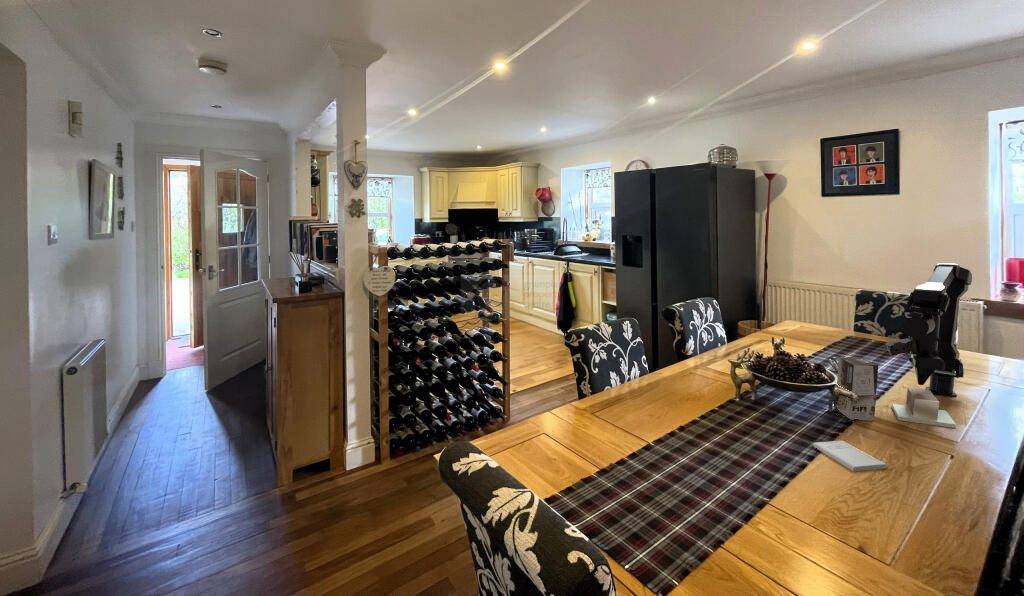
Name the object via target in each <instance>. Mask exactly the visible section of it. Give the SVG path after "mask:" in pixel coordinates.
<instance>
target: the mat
mask: <svg viewBox="0 0 1024 596" xmlns="http://www.w3.org/2000/svg"><path fill="white" fill-rule="evenodd" d="M891 408H892V410H893V412H894V415H895V417H896V418H897V420H898V421H903V422H904V421H905V422H909V423H910V422H912V423H918V424H923V425H932V426H940V427H945V428H954V429H957V424H956V422H955V420H953V418H952V417H951V416H950V414H949V413H948V411H947V410H944V409H939V410H938V420H936V419H928V418H921V417H914V416H913V414H912V413H911V411H910V409H909V408H908V406H907V404H906V405H905V404H896V403H892V404H891Z"/></svg>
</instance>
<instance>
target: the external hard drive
mask: <svg viewBox="0 0 1024 596" xmlns="http://www.w3.org/2000/svg"><path fill="white" fill-rule="evenodd" d="M813 446H814V447H813ZM812 447H813V448H815V449H816V448H817V449H816V450H818V451H820V452H821V453H823V454H824V455H826V456H827V457H830V459H833V460H835V461H836V462H837V463H839V464H841V465H842V466H844V467H846V468H848V469H849V470H851V471H852V472H856V471H858V472H859V471H870V470H881V469H887V463H885V462H884V461H881V460H880V459H878V458H876V457H873V456H871V455H870V454H868V453H866V452H865V451H862V450H861V449H859V448H857V447H855V446H853V445H852V444H850V443H848V442H846V441H844V440H834V441H833V440H832V441H830V440H829V441H820V442H818V441H817V442H813V445H812Z"/></svg>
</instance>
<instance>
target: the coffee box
mask: <svg viewBox="0 0 1024 596" xmlns="http://www.w3.org/2000/svg"><path fill="white" fill-rule="evenodd" d="M837 361H838V363H837V375H836V376H837V379H836V385H837V384H838V385H839V386H841V387H843V388H844V389H847V390H849V391H852V392H853V393H855V395H857V396H858V397H859V399H858V402H857V403H854V402H853V401H850V398H848V397H844V396H840V397H839V399H838V402H837V409H838V410H839V411H838V410H837V409H836V410H837V411H838V412H839V413H841V414H842V415H844V416H845V417H846V418H848V419H849V420H853V421H855V420H854V419H859V420H858V421H871V422H873V421H875V413H876V402H877V401H876V399H877V388H878V378H879V376H878V375H879V366H880V365H878V364H876V363H874V362H873V361H870V360H868V359H866V358H863V357H862V356H860V357H858V356H854V357H853V356H852V357H851V356H849V357H848V356H847V357H843V356H842V357H841V356H839V357H838V358H837Z"/></svg>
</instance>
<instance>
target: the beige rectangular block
mask: <svg viewBox="0 0 1024 596" xmlns="http://www.w3.org/2000/svg"><path fill="white" fill-rule="evenodd" d="M906 390H907V392H906V402H905V404H906V406H908V408H909V409H910V411H911V413H912V414H913V416H914V417H921V418H928V419H936V420H938V410H940V409H939V408H940V401H939V400H938V399H937V398H936V396H935V394H932V392H931V391H930V390H927V389H922V388H913V387H907V389H906Z"/></svg>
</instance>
